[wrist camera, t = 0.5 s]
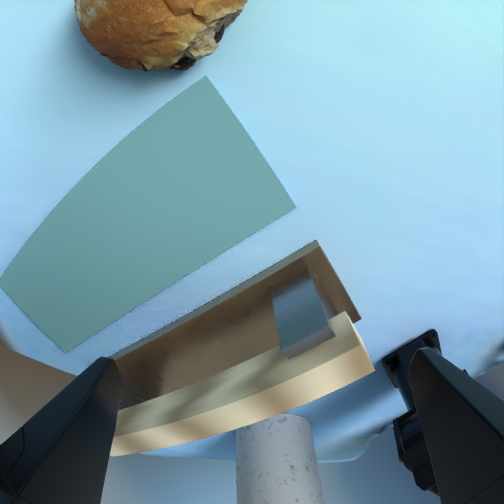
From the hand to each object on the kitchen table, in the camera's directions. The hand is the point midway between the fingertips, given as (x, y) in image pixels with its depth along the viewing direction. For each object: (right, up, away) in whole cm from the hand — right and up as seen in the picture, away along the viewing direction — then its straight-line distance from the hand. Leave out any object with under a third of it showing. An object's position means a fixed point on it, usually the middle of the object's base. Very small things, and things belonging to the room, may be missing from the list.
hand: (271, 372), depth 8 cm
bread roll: (-6, +19, +5) cm, 20 cm away
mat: (-11, +3, +13) cm, 17 cm away
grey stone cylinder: (+2, -19, +25) cm, 32 cm away
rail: (-5, -8, +13) cm, 16 cm away
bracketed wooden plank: (-5, -5, +18) cm, 19 cm away
